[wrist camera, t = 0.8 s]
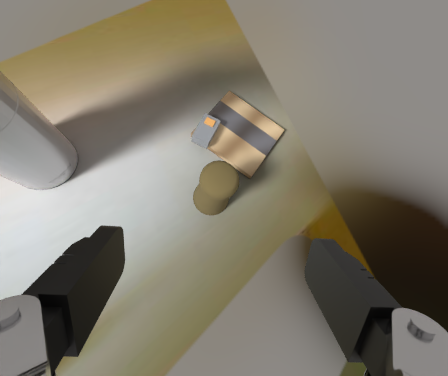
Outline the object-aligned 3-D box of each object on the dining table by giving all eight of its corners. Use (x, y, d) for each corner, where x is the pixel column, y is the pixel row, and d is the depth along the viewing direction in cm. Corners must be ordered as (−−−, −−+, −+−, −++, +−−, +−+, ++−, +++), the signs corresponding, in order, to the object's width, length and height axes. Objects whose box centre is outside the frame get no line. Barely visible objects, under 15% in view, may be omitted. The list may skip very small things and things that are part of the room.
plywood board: (190, 136, 41) (191, 133, 40) (228, 94, 45) (229, 90, 44) (249, 178, 41) (251, 176, 40) (281, 132, 45) (284, 129, 44)
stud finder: (191, 141, 40) (191, 134, 38) (204, 119, 41) (205, 111, 39) (206, 148, 40) (208, 142, 38) (219, 127, 41) (221, 119, 39)
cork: (192, 180, 39) (196, 153, 29) (227, 180, 40) (243, 153, 30) (193, 216, 37) (197, 200, 27) (229, 214, 38) (247, 199, 28)
